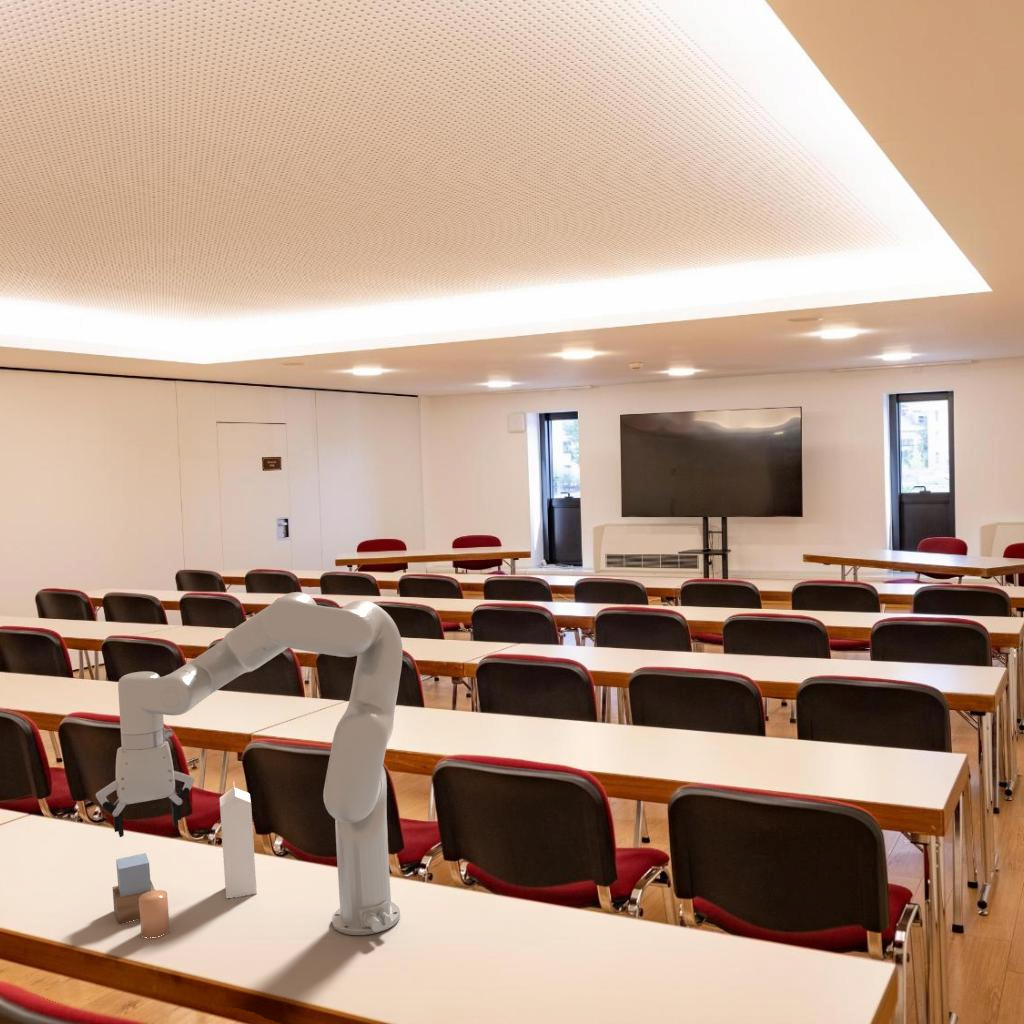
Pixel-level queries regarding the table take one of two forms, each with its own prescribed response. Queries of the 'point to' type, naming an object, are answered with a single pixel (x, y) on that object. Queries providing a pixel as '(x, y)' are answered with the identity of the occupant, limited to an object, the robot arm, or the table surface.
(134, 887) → the slate blue cube
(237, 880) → the milk
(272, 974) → the table surface
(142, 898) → the terracotta capsule
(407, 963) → the table surface
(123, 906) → the walnut base block
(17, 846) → the table surface
